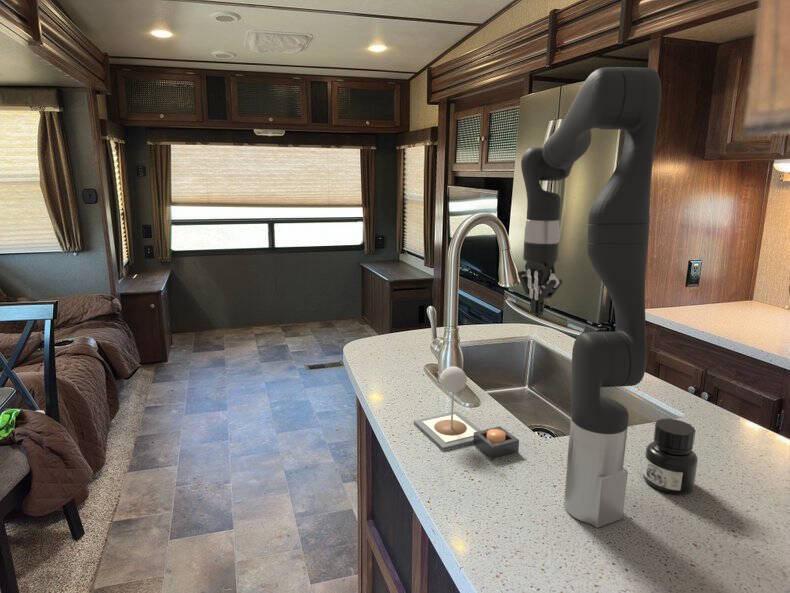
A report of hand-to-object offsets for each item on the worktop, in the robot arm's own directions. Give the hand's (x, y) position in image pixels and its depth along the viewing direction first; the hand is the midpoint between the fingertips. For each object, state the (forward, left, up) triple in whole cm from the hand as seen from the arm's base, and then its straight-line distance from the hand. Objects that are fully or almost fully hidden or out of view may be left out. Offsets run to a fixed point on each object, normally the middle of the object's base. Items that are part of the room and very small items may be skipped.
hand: (536, 314), depth 123 cm
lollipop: (+4, +20, -26) cm, 33 cm away
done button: (-7, +15, -26) cm, 31 cm away
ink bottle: (-32, -8, -27) cm, 43 cm away
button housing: (-7, +15, -27) cm, 32 cm away
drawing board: (+4, +20, -27) cm, 34 cm away
